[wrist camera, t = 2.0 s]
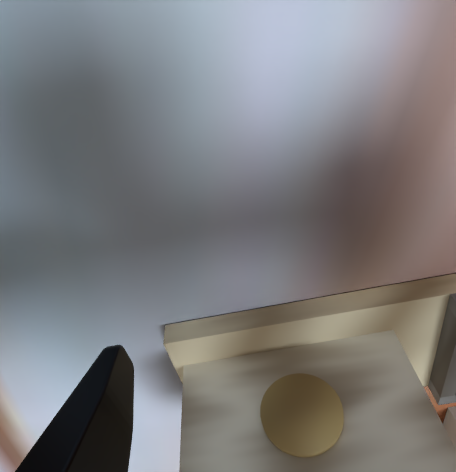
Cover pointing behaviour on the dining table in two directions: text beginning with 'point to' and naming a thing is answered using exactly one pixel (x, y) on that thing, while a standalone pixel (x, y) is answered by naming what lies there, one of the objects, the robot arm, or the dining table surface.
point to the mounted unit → (321, 383)
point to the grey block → (451, 424)
